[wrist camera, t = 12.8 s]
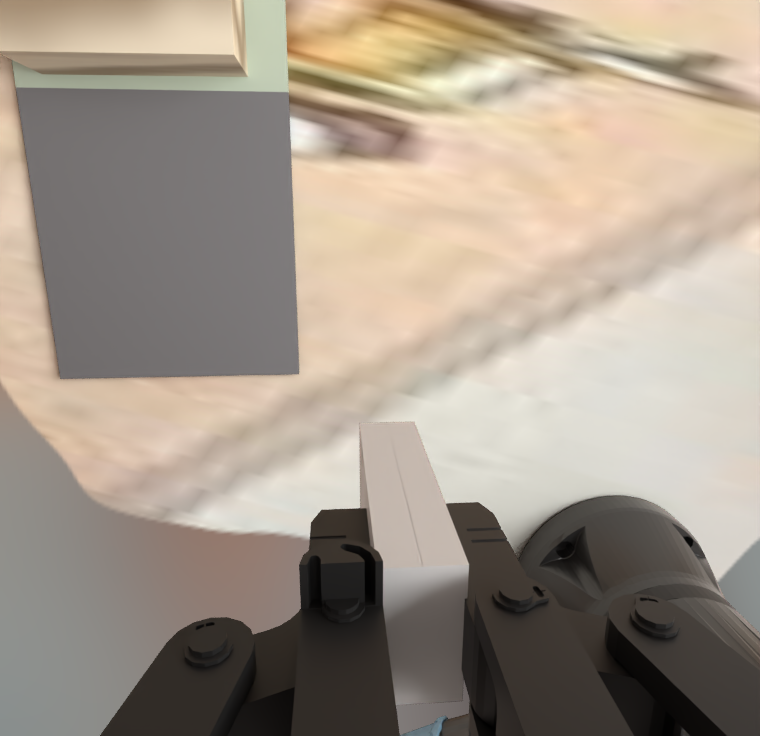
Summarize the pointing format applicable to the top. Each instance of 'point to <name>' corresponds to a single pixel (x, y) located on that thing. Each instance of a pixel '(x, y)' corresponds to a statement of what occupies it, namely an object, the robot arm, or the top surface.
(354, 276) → the top surface
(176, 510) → the top surface
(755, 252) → the top surface
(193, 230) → the mat
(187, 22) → the t block
